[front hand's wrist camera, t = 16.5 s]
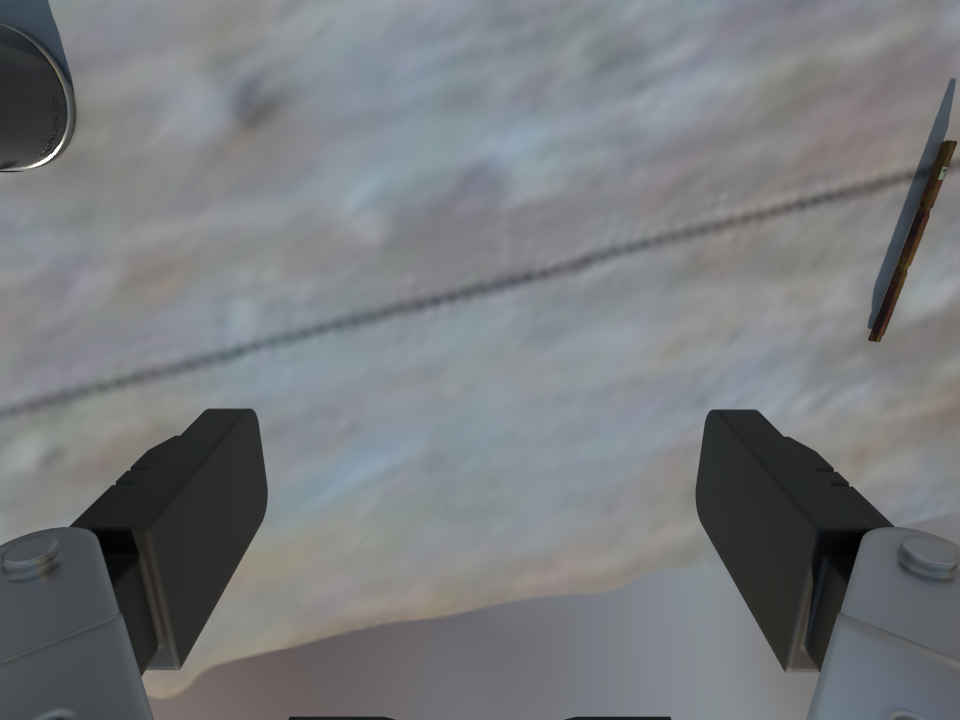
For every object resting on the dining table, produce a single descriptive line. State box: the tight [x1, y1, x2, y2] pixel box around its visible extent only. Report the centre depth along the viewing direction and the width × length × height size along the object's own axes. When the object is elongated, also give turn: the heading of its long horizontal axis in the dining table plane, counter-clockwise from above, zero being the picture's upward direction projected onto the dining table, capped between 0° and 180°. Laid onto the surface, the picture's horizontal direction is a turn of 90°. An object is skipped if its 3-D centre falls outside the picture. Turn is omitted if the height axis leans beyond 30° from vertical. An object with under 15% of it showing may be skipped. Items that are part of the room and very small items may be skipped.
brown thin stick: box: [868, 141, 957, 342], centre depth 46 cm, size 15×1×1 cm, turn 172°
